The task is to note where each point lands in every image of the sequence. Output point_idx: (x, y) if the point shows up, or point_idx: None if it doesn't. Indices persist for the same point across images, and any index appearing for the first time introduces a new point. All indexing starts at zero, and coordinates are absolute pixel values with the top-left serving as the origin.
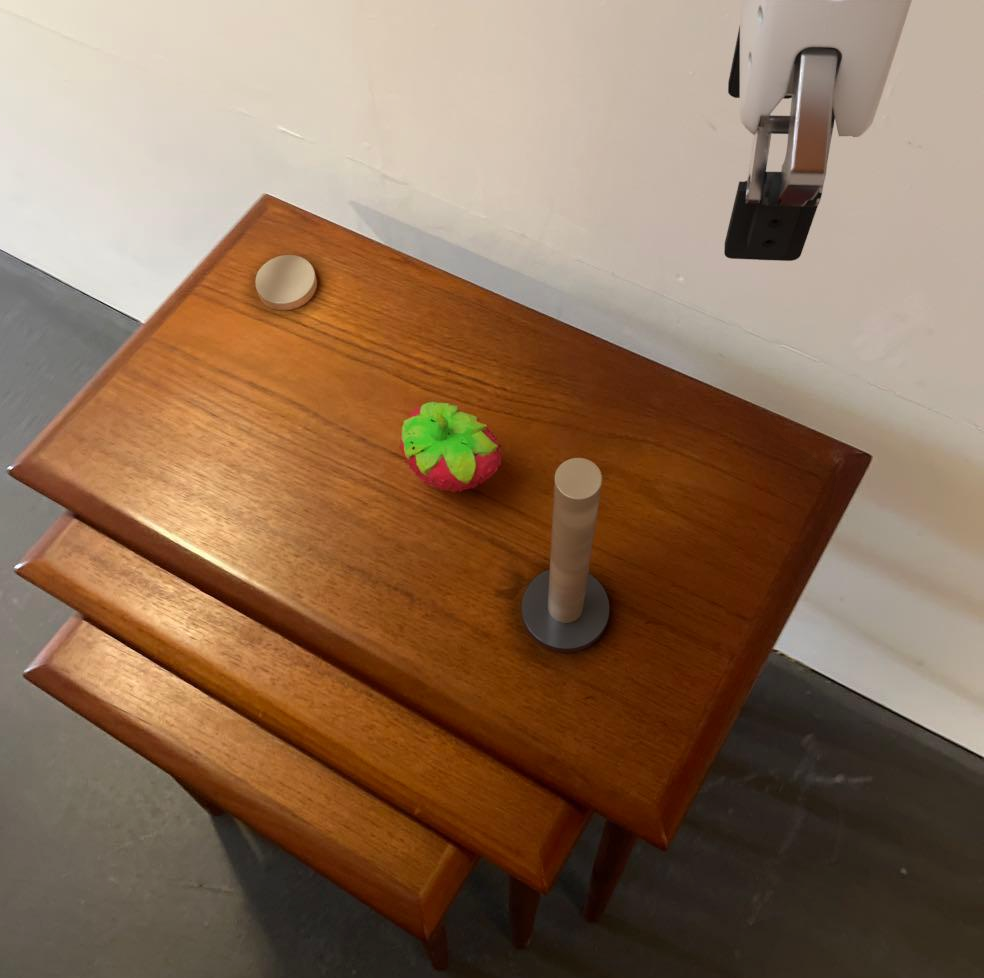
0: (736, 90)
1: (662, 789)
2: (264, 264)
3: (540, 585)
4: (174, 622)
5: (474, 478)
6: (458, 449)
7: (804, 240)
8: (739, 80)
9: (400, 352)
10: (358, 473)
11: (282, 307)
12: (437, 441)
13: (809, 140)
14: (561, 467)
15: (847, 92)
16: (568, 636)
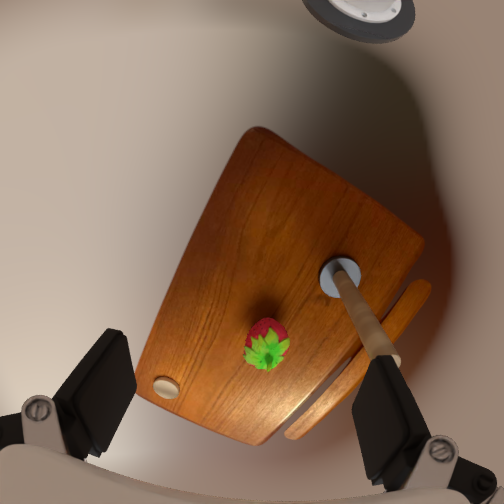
0: (133, 391)
1: (417, 235)
2: (160, 395)
3: (328, 289)
4: (324, 408)
5: (287, 336)
6: (278, 350)
7: (401, 374)
8: (128, 400)
9: (195, 347)
10: None
11: (179, 389)
12: (273, 359)
13: None
14: None
15: None
16: (355, 277)
